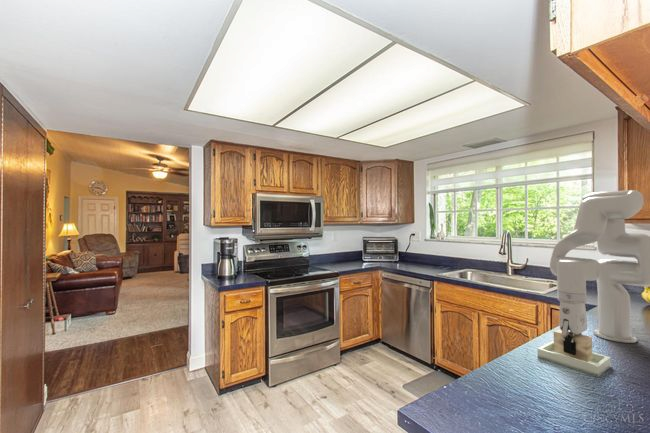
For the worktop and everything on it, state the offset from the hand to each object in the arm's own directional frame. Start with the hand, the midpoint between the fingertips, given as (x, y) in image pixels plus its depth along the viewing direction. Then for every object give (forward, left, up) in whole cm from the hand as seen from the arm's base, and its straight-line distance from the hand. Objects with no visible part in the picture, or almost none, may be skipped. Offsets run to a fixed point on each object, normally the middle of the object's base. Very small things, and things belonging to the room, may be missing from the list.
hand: (572, 350), depth 100 cm
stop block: (0, 0, -1) cm, 1 cm away
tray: (0, 0, -4) cm, 4 cm away
